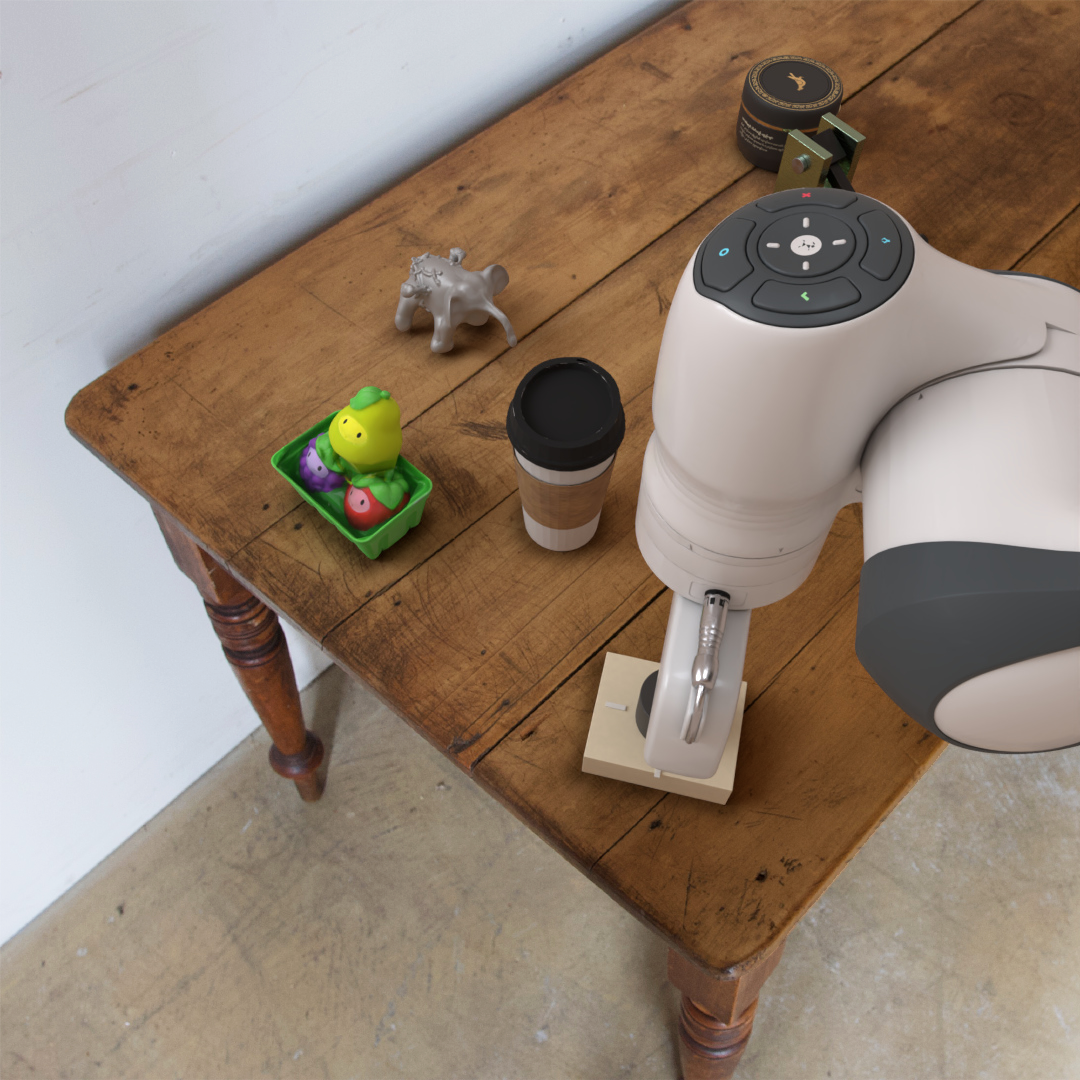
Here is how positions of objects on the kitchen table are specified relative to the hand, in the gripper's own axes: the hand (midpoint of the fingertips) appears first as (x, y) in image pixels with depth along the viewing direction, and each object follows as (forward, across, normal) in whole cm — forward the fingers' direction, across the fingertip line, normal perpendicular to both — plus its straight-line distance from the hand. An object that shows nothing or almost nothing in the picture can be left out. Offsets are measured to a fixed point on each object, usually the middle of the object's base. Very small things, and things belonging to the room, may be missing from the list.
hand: (694, 644), depth 58 cm
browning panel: (+14, 0, 0) cm, 14 cm away
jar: (+15, +68, -1) cm, 70 cm away
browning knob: (+11, 0, 0) cm, 11 cm away
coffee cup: (+14, +16, +12) cm, 24 cm away
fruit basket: (+14, +14, +27) cm, 34 cm away
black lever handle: (+6, +48, -7) cm, 49 cm away
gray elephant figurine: (+14, +34, +24) cm, 44 cm away
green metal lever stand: (+15, +51, -4) cm, 53 cm away
